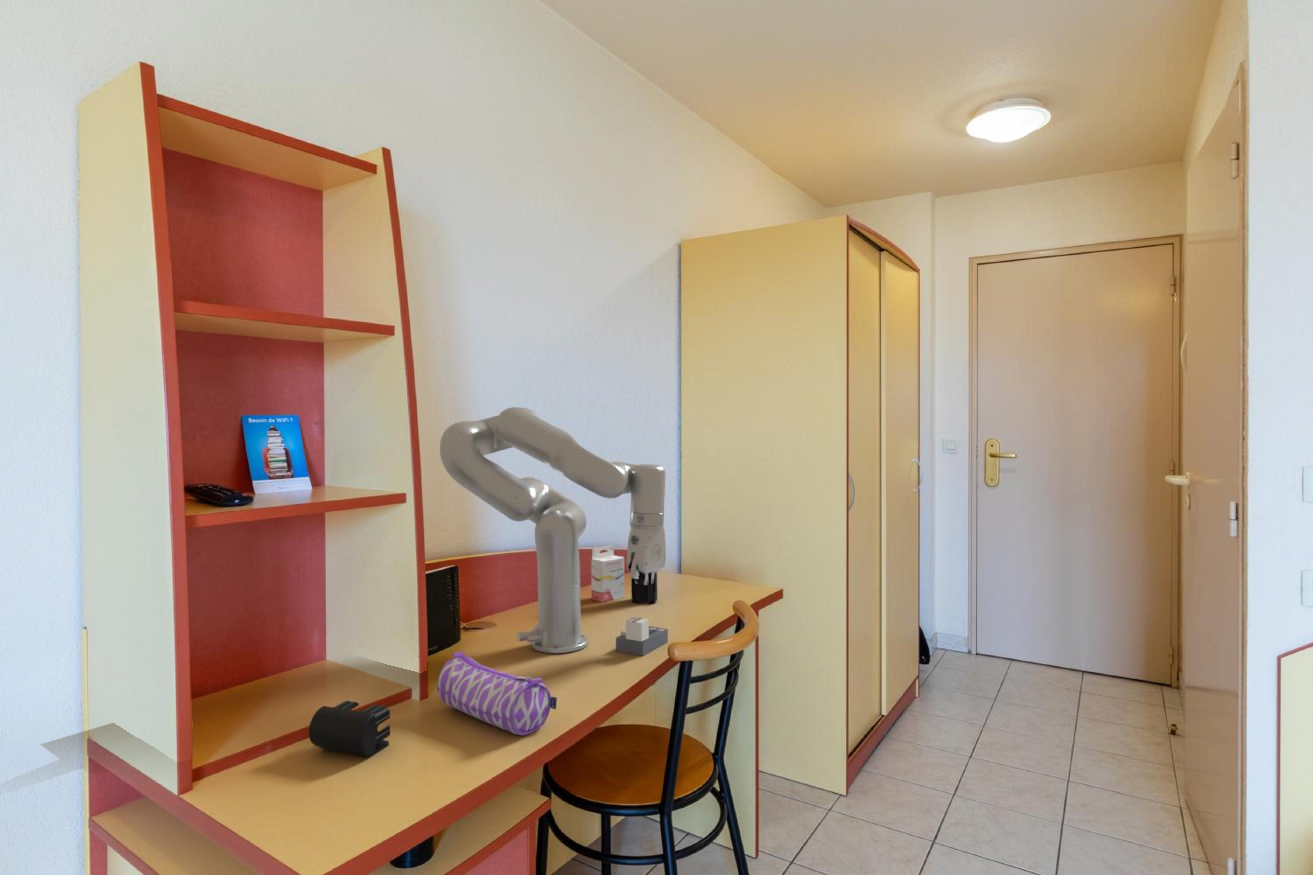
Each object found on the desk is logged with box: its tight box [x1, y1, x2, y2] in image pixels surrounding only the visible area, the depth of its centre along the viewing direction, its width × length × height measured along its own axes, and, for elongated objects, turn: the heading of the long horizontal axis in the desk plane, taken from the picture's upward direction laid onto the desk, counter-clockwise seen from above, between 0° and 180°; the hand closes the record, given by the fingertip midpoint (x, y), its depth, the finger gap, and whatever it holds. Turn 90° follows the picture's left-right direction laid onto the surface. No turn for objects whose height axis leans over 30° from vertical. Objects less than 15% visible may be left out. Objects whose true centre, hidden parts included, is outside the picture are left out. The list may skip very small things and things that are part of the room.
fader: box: [625, 616, 650, 642], centre depth 158 cm, size 3×4×4 cm
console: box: [615, 625, 669, 657], centre depth 163 cm, size 11×7×4 cm, turn 150°
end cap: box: [308, 700, 391, 758], centre depth 113 cm, size 10×7×7 cm
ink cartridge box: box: [590, 544, 625, 603], centre depth 206 cm, size 9×5×15 cm, turn 133°
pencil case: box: [436, 650, 558, 736], centre depth 124 cm, size 22×9×10 cm, turn 54°
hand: (643, 600), depth 162 cm, fingers closed
